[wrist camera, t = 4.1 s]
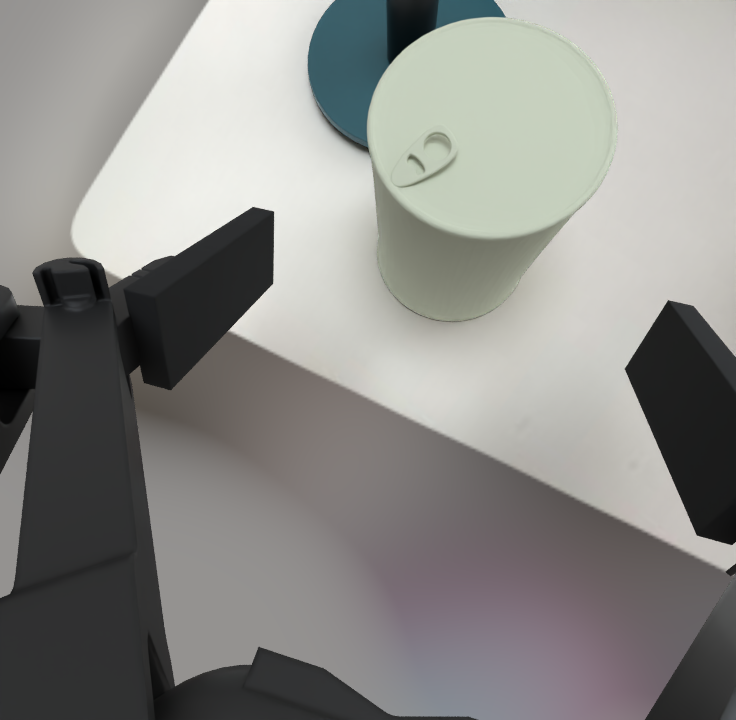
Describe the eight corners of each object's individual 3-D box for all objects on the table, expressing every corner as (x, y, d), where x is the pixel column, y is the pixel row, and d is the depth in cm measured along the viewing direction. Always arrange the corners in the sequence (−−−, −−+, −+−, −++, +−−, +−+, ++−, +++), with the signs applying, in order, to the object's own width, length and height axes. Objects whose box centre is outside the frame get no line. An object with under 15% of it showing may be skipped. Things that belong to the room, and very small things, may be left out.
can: (349, 233, 28) (316, 86, 16) (468, 157, 28) (521, -40, 16) (430, 350, 26) (460, 284, 14) (555, 269, 27) (684, 139, 15)
